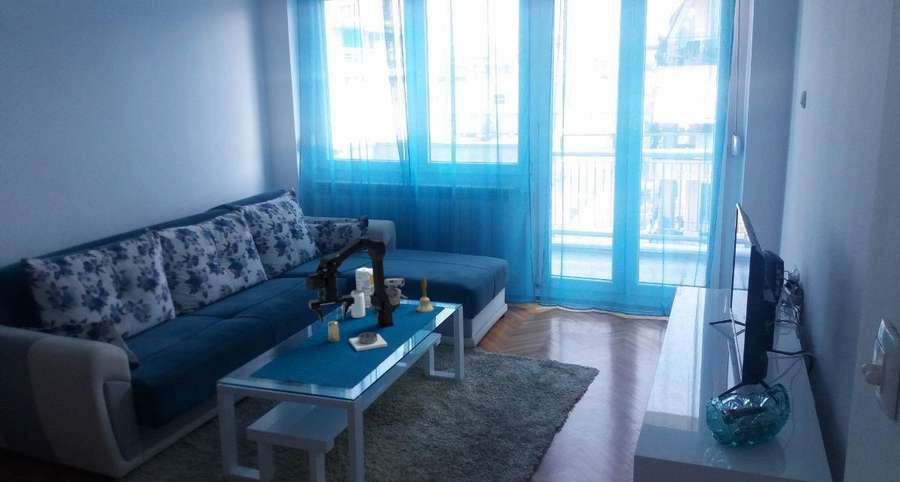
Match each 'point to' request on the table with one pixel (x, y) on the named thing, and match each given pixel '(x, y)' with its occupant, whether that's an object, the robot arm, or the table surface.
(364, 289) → the juice carton
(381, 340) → the socket base
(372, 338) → the socket collar
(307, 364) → the table surface
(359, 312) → the can
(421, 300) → the hand bell
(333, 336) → the brass cylinder
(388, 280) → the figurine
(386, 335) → the table surface
